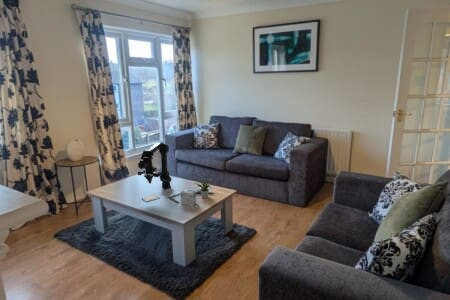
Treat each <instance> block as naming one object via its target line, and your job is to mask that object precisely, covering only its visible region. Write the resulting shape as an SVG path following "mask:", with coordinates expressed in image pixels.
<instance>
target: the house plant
mask: <svg viewBox="0 0 450 300" xmlns="http://www.w3.org/2000/svg"><path fill="white" fill-rule="evenodd" d="M212 179H213V178H212V177H211V178H210V179H207V180H206V179H205V177H203V180H201V179H198V182H199V183H198V182H197V183H196V182H195V184H196V185H197V186H196V187H197V188H198V187H200V188H201V189H200V196H201V198H202V199H207V198H208V197H209V192H210V189H209V188H210V186H211V184H210V182H211V180H212Z"/></svg>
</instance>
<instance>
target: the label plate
mask: <svg viewBox="0 0 450 300" xmlns="http://www.w3.org/2000/svg"><path fill="white" fill-rule="evenodd" d="M158 199H161V197H160V196H158V195H157V194H155V193H154V194H151V195H147V196H144V197H141V200H143V201H145V202H147V203H148V202H151V201H155V200H158Z"/></svg>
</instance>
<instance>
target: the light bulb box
mask: <svg viewBox="0 0 450 300" xmlns="http://www.w3.org/2000/svg"><path fill="white" fill-rule="evenodd" d="M180 193H181V195H180V205H183V206H194V205H196V204H197V190H196V189H185V188H184V189H181V191H180ZM180 193H179V194H180Z"/></svg>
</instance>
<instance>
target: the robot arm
mask: <svg viewBox="0 0 450 300" xmlns="http://www.w3.org/2000/svg"><path fill="white" fill-rule="evenodd" d="M156 151H158V153H160V158H161V162H160V163H161V171H157V169H158V167H156V166H154V165H153V159H154V157H153V156H154V155H155V152H156ZM169 151H170V146H169V145H168V144H165V143H163V142H162V141H157V142H155V144H154V145H152V146H151V147H150V148H146V149H144V150H143V151H142V152H141V153H142V154H141V157H140V160H139V162H138V163H137V167H138V168H139V169H140V170H139V171H137V176H142V175H143V177H144V178H145V179H146V180H147V182H148V184H150V185H151V183H152V181H153V178H159V180H160V182H161V188H163V189H165V190H166V189H170V188H172V186H171V182H172V179H173V178H172V177H171V176H170V173H169V170H168V154H169ZM143 169H144V170H143Z"/></svg>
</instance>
